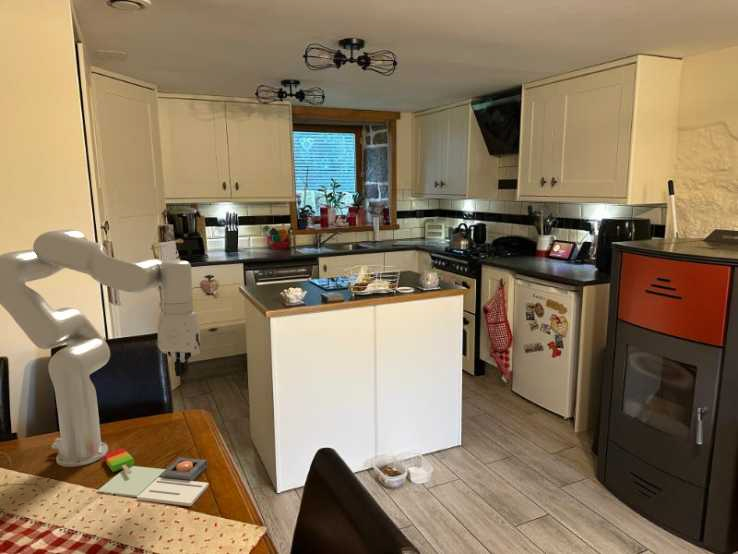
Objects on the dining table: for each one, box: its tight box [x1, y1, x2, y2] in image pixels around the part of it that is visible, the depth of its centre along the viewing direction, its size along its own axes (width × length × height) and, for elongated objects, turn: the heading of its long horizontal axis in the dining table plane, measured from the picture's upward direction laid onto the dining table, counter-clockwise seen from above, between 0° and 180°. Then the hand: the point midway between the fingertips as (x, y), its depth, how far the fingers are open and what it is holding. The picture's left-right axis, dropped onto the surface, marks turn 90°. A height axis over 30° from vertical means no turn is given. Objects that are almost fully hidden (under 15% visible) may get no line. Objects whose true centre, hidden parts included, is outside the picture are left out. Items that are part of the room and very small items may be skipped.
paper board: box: [136, 477, 210, 507], centre depth 125 cm, size 14×9×1 cm, turn 79°
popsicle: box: [103, 448, 135, 474], centre depth 136 cm, size 6×2×15 cm
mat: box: [96, 465, 167, 498], centre depth 130 cm, size 11×12×1 cm
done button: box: [176, 461, 193, 472], centre depth 133 cm, size 4×4×2 cm
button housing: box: [161, 456, 208, 481], centre depth 133 cm, size 8×8×2 cm
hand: (181, 374), depth 137 cm, fingers closed
